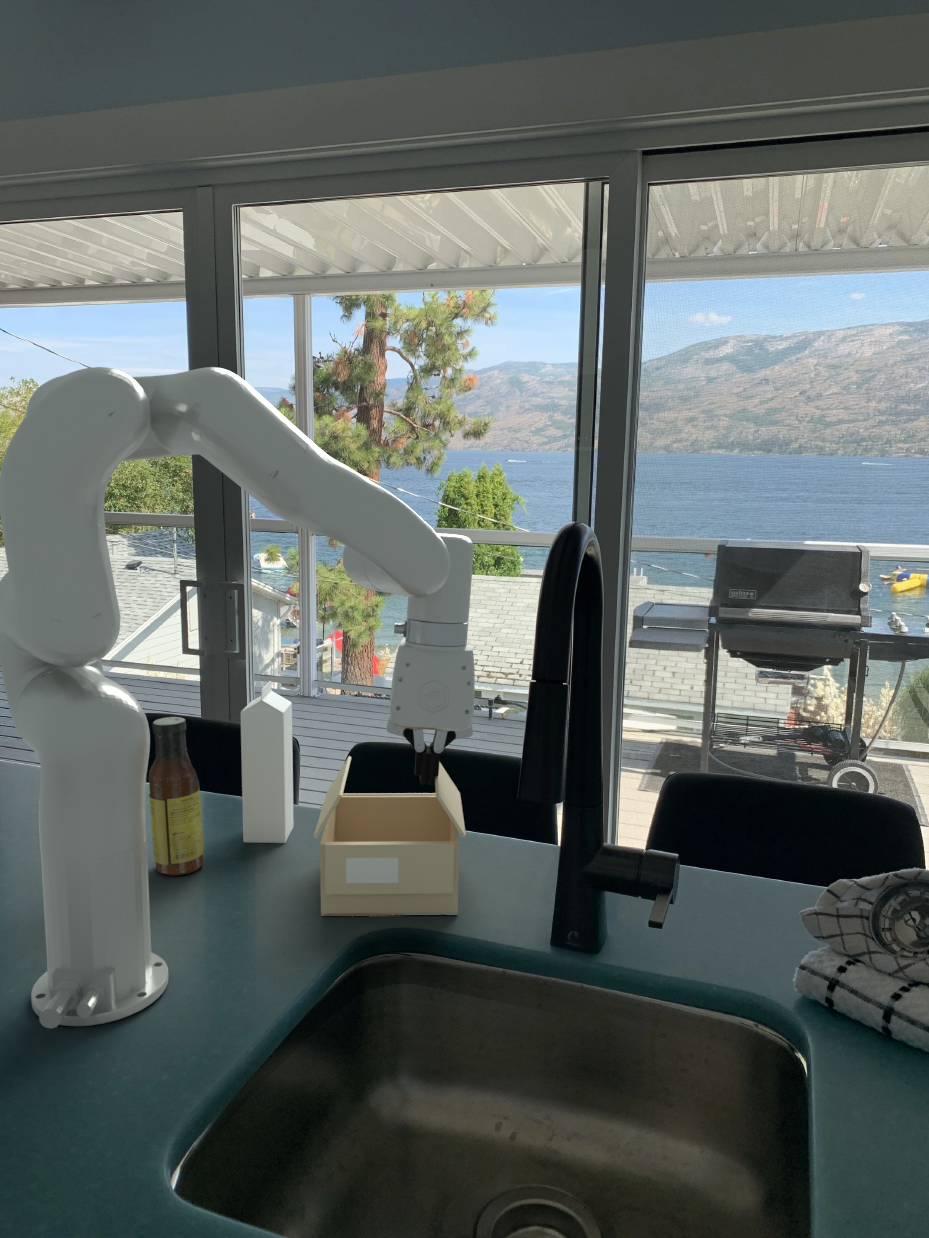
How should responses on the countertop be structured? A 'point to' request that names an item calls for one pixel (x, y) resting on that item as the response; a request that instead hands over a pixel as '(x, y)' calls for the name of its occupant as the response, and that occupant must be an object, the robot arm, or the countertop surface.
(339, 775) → the left flap
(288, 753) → the milk
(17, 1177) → the countertop surface
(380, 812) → the carton
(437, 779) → the right flap
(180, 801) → the sauce bottle
